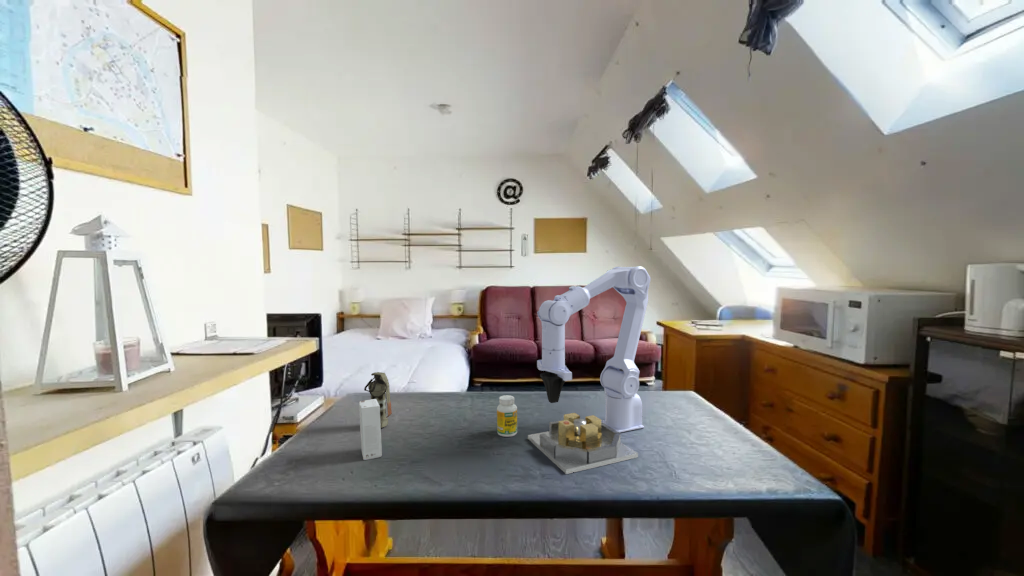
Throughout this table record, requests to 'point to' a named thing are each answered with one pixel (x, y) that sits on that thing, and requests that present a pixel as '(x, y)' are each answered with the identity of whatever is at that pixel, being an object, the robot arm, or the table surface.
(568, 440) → the gold block ring
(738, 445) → the table surface
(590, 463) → the flange plate
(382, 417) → the grenade model
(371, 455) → the skincare box
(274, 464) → the table surface
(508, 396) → the supplement bottle
